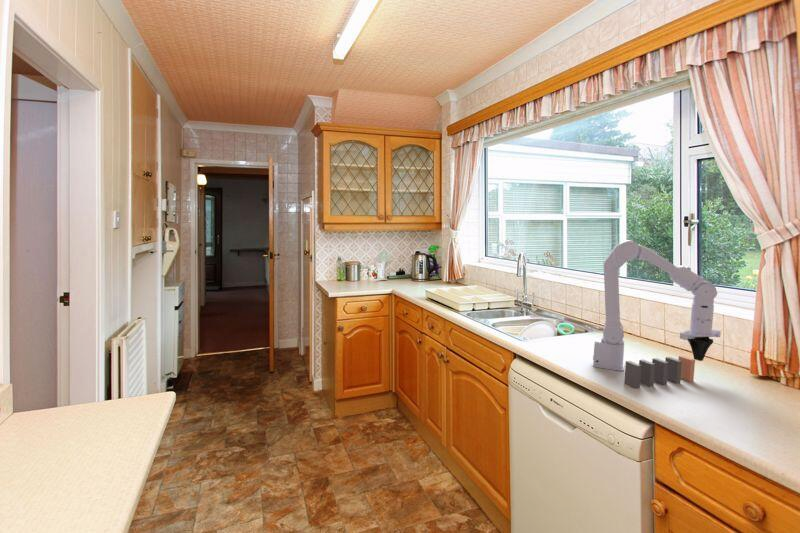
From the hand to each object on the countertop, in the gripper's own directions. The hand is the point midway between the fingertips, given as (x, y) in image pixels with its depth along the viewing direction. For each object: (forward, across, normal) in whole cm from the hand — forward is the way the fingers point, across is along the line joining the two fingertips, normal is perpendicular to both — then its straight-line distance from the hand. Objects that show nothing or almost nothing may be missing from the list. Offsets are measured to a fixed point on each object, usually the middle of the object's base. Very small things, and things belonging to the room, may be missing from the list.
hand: (698, 359), depth 141 cm
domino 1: (+6, -26, 0) cm, 26 cm away
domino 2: (+6, -20, 0) cm, 21 cm away
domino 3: (+6, -15, 0) cm, 16 cm away
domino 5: (+6, -5, 0) cm, 8 cm away
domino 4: (+6, -10, 0) cm, 12 cm away
